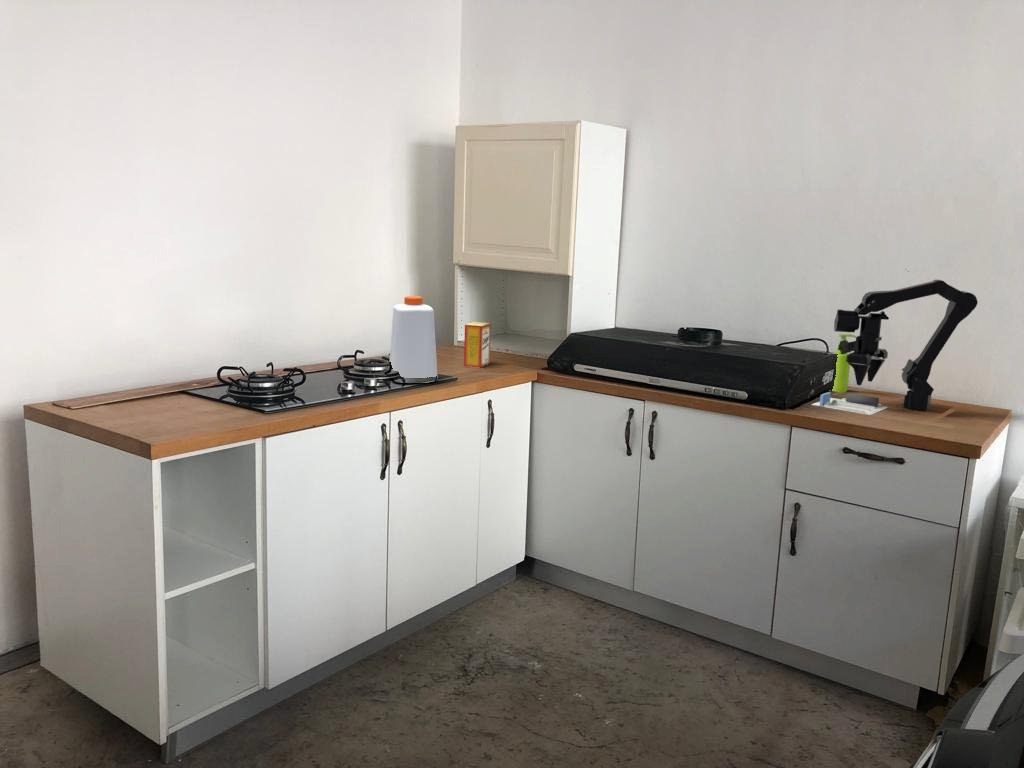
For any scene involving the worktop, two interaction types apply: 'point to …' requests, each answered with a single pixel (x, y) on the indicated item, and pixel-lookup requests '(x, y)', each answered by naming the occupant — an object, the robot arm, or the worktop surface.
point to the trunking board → (846, 405)
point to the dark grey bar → (862, 399)
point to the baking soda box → (477, 344)
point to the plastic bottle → (413, 339)
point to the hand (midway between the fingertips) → (864, 383)
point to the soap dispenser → (842, 368)
